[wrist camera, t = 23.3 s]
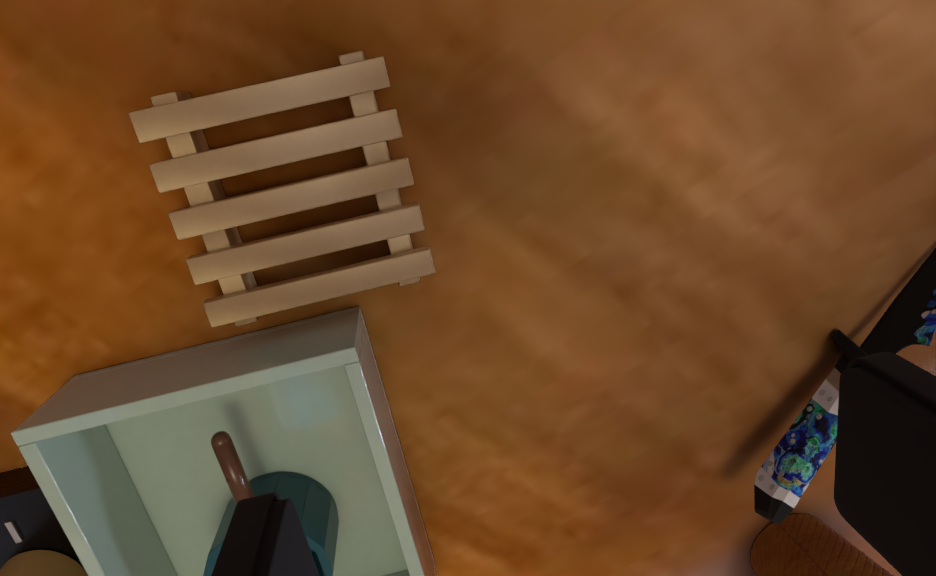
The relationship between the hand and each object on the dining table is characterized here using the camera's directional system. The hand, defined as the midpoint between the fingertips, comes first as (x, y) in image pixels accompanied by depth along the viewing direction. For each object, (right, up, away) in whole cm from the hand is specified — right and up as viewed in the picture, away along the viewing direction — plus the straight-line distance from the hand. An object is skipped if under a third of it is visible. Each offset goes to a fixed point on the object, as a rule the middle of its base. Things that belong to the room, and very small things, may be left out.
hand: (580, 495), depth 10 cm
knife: (+25, +2, +30) cm, 39 cm away
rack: (-11, +9, +22) cm, 26 cm away
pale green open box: (-14, -9, +28) cm, 32 cm away
